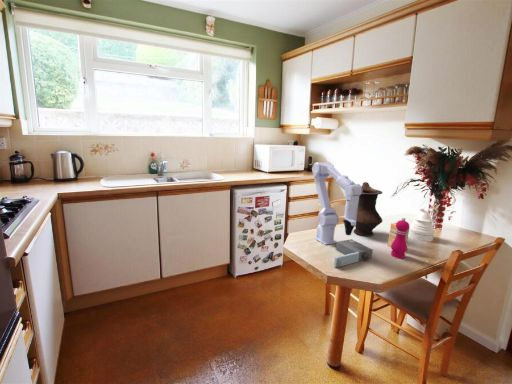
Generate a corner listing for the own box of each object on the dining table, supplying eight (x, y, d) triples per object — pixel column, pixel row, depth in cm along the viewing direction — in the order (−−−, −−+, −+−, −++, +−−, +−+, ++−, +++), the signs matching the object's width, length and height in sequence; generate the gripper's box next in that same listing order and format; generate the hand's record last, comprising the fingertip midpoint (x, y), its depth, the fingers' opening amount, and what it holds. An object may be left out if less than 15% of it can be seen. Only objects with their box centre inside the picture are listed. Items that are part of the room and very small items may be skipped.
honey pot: (410, 239, 168) (415, 209, 164) (406, 232, 180) (411, 204, 176) (435, 243, 164) (441, 212, 160) (429, 235, 176) (434, 207, 173)
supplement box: (386, 245, 157) (390, 222, 154) (393, 244, 159) (397, 222, 156) (399, 251, 150) (403, 227, 147) (406, 250, 151) (410, 227, 148)
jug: (383, 240, 164) (391, 189, 157) (350, 237, 167) (356, 186, 160) (374, 228, 184) (381, 182, 178) (345, 225, 187) (350, 180, 180)
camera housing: (335, 249, 148) (337, 241, 147) (350, 247, 153) (351, 238, 152) (358, 262, 135) (359, 252, 134) (373, 259, 139) (374, 249, 138)
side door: (337, 268, 127) (338, 259, 126) (334, 266, 129) (335, 257, 128) (360, 262, 134) (361, 253, 133) (356, 260, 136) (357, 252, 135)
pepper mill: (397, 259, 140) (403, 220, 136) (386, 253, 147) (392, 215, 142) (409, 258, 142) (415, 219, 138) (398, 252, 149) (404, 215, 145)
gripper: (339, 204, 148) (336, 229, 151) (346, 212, 134) (343, 239, 137) (353, 205, 148) (350, 230, 151) (361, 213, 134) (358, 240, 137)
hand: (348, 234), depth 144 cm, fingers closed
